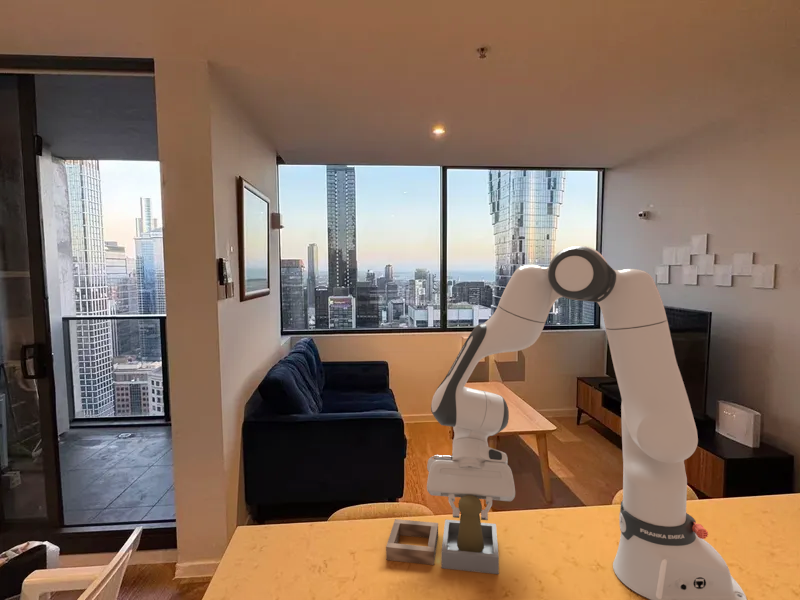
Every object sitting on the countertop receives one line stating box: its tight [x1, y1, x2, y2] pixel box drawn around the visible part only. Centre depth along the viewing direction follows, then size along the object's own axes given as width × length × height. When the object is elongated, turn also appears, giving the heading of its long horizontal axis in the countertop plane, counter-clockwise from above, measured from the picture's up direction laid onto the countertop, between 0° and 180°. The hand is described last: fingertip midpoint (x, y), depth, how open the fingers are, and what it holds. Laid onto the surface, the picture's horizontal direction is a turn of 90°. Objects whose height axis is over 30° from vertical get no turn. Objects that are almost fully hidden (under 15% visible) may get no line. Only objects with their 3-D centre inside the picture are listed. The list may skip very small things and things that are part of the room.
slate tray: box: [440, 519, 500, 575], centre depth 95 cm, size 12×12×4 cm
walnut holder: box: [385, 518, 439, 566], centre depth 97 cm, size 11×11×3 cm
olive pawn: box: [457, 495, 484, 553], centre depth 94 cm, size 6×6×11 cm
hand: (470, 518), depth 93 cm, fingers closed on olive pawn, 5 cm apart
